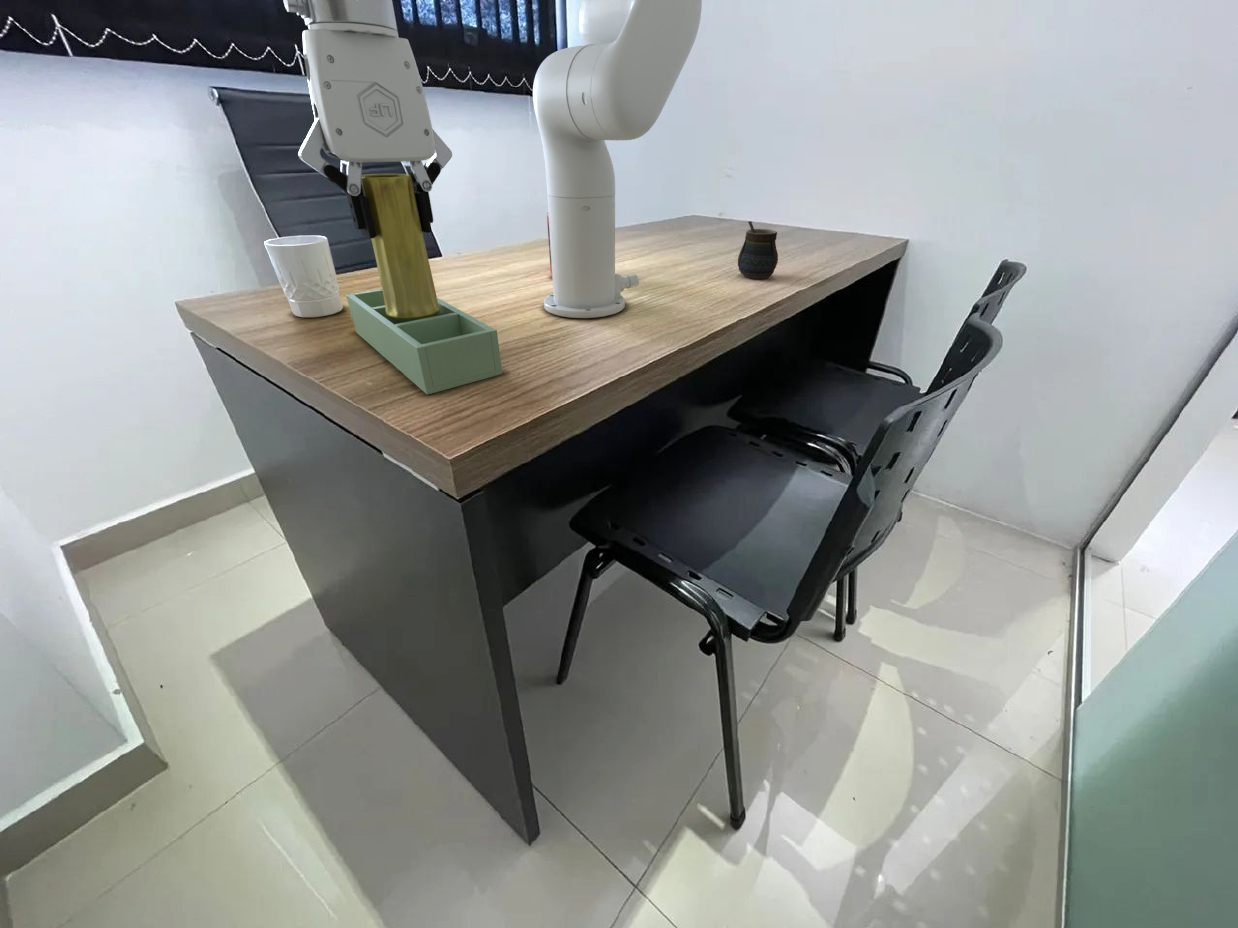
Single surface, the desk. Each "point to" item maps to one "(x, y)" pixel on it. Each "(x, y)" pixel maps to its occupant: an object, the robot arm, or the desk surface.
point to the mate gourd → (758, 253)
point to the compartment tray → (429, 343)
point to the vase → (400, 247)
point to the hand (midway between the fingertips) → (396, 231)
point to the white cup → (306, 274)
